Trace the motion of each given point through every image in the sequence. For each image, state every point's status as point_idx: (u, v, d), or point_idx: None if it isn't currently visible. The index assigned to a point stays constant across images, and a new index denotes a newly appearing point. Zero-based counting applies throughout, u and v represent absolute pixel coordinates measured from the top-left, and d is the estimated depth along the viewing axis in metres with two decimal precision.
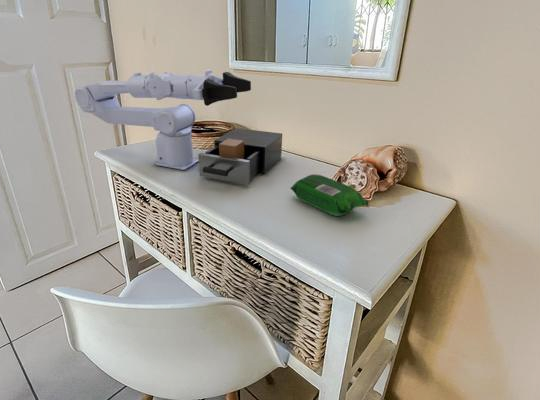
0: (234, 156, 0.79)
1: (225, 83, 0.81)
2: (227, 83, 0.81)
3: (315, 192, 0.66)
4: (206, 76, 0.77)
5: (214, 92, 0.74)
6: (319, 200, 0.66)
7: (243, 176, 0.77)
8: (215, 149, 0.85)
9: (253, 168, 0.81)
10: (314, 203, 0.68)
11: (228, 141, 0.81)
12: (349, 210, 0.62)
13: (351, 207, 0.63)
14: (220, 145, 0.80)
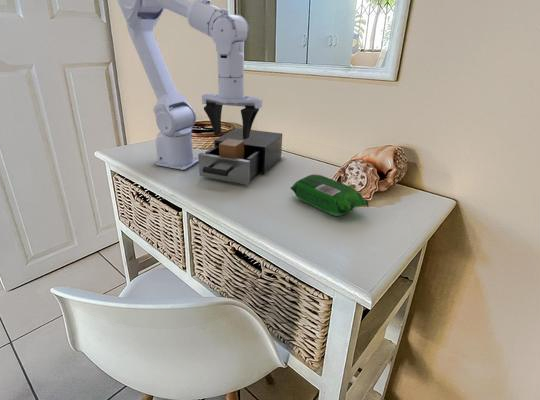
0: (234, 156, 0.79)
1: None
2: None
3: (315, 192, 0.66)
4: (220, 100, 0.74)
5: None
6: (319, 200, 0.66)
7: (243, 176, 0.77)
8: (215, 149, 0.85)
9: (253, 168, 0.81)
10: (314, 203, 0.68)
11: (228, 141, 0.81)
12: (349, 210, 0.62)
13: (351, 207, 0.63)
14: (220, 145, 0.80)
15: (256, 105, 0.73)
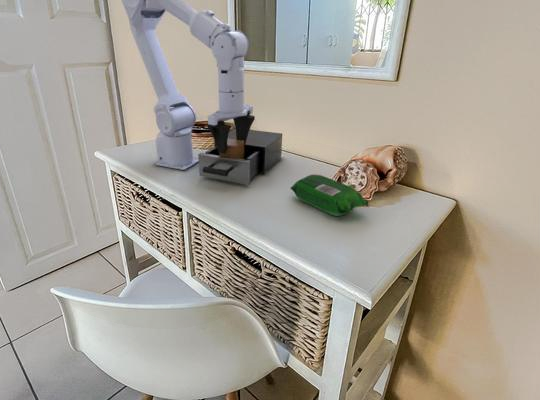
0: (234, 156, 0.79)
1: (242, 118, 0.81)
2: (242, 121, 0.81)
3: (315, 192, 0.66)
4: (237, 114, 0.75)
5: (220, 131, 0.76)
6: (319, 200, 0.66)
7: (243, 176, 0.77)
8: (215, 149, 0.85)
9: (253, 168, 0.81)
10: (314, 203, 0.68)
11: (228, 141, 0.81)
12: (349, 210, 0.62)
13: (351, 207, 0.63)
14: None
15: (251, 111, 0.82)
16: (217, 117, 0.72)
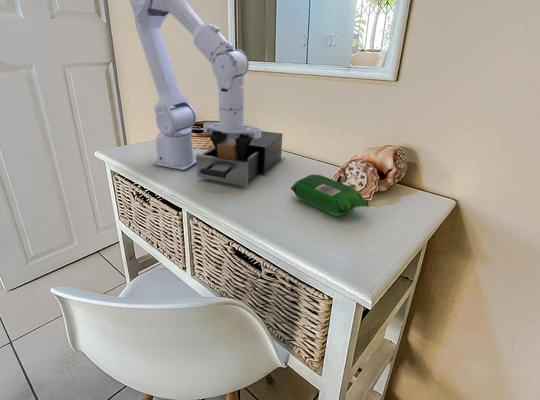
0: (232, 156, 0.79)
1: (223, 135, 0.81)
2: (223, 137, 0.82)
3: (315, 192, 0.66)
4: None
5: None
6: (319, 200, 0.66)
7: (241, 178, 0.76)
8: (213, 150, 0.84)
9: (252, 169, 0.80)
10: (314, 203, 0.68)
11: (226, 141, 0.81)
12: (349, 210, 0.62)
13: (351, 207, 0.63)
14: (218, 145, 0.79)
15: None
16: None
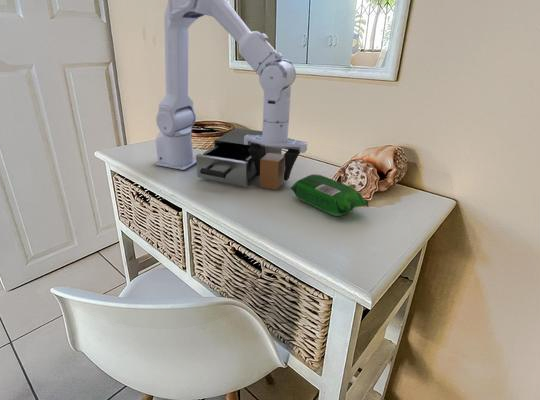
0: (276, 172, 0.75)
1: (261, 148, 0.78)
2: (261, 150, 0.78)
3: (315, 192, 0.66)
4: None
5: None
6: (319, 200, 0.66)
7: (241, 178, 0.76)
8: (213, 150, 0.84)
9: (252, 169, 0.80)
10: (314, 203, 0.68)
11: (269, 156, 0.77)
12: (349, 210, 0.62)
13: (351, 207, 0.62)
14: (261, 160, 0.75)
15: None
16: None
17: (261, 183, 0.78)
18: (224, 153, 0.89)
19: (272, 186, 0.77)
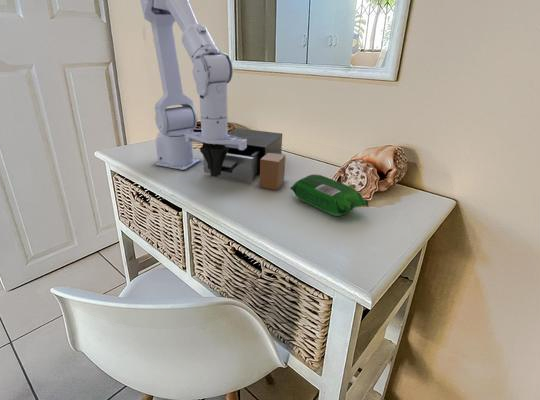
0: (276, 172, 0.75)
1: (215, 147, 0.74)
2: None
3: (315, 192, 0.66)
4: None
5: None
6: (319, 200, 0.66)
7: (247, 173, 0.79)
8: None
9: (257, 165, 0.83)
10: (314, 203, 0.68)
11: (269, 156, 0.77)
12: (349, 210, 0.62)
13: (351, 207, 0.62)
14: (261, 160, 0.75)
15: None
16: None
17: (261, 183, 0.78)
18: (229, 149, 0.92)
19: (272, 186, 0.77)
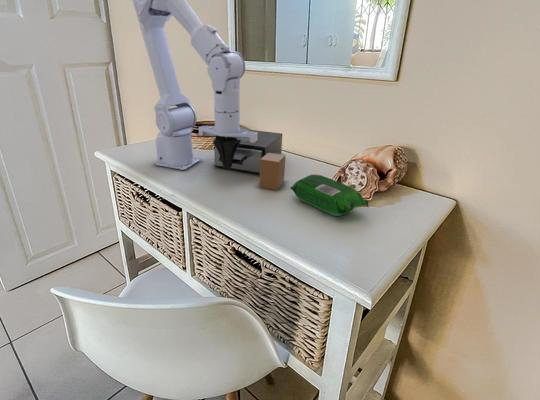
0: (276, 172, 0.75)
1: (227, 140, 0.79)
2: None
3: (315, 192, 0.66)
4: None
5: None
6: (319, 200, 0.66)
7: (256, 165, 0.84)
8: None
9: None
10: (314, 203, 0.68)
11: (269, 156, 0.77)
12: (349, 210, 0.62)
13: (351, 207, 0.62)
14: (261, 160, 0.75)
15: None
16: None
17: (261, 183, 0.78)
18: None
19: (272, 186, 0.77)
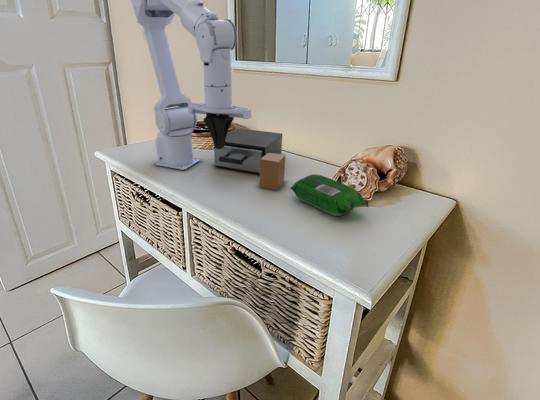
0: (276, 172, 0.75)
1: None
2: None
3: (315, 192, 0.66)
4: None
5: None
6: (319, 200, 0.66)
7: (256, 165, 0.84)
8: None
9: None
10: (314, 203, 0.68)
11: (269, 156, 0.77)
12: (349, 210, 0.62)
13: (351, 207, 0.62)
14: (261, 160, 0.75)
15: None
16: None
17: (261, 183, 0.78)
18: None
19: (272, 186, 0.77)
